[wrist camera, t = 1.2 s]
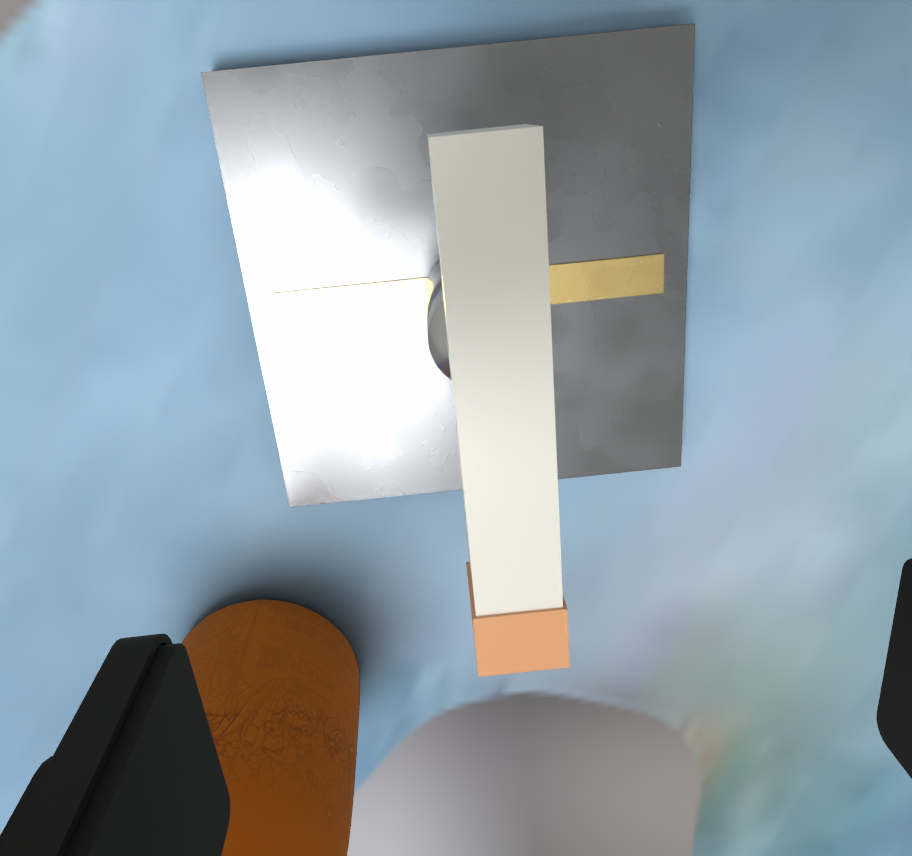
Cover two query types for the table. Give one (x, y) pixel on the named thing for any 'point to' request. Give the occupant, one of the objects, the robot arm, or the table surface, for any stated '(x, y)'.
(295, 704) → the wine bottle
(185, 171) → the table surface
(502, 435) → the t handle
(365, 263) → the post base
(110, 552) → the table surface
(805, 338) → the table surface
